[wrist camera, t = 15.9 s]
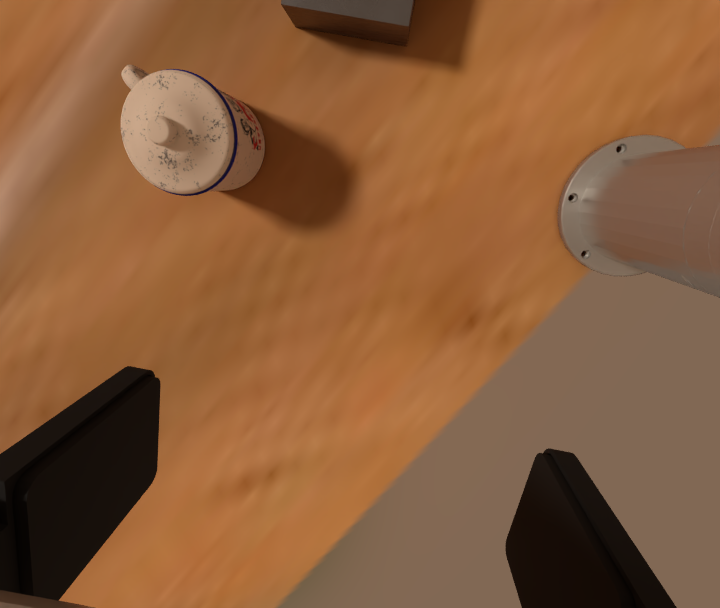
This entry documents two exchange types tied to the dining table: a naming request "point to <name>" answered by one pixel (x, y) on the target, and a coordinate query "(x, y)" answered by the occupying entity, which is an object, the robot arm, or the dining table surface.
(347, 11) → the eye block
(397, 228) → the dining table surface
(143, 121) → the teacup with lid
